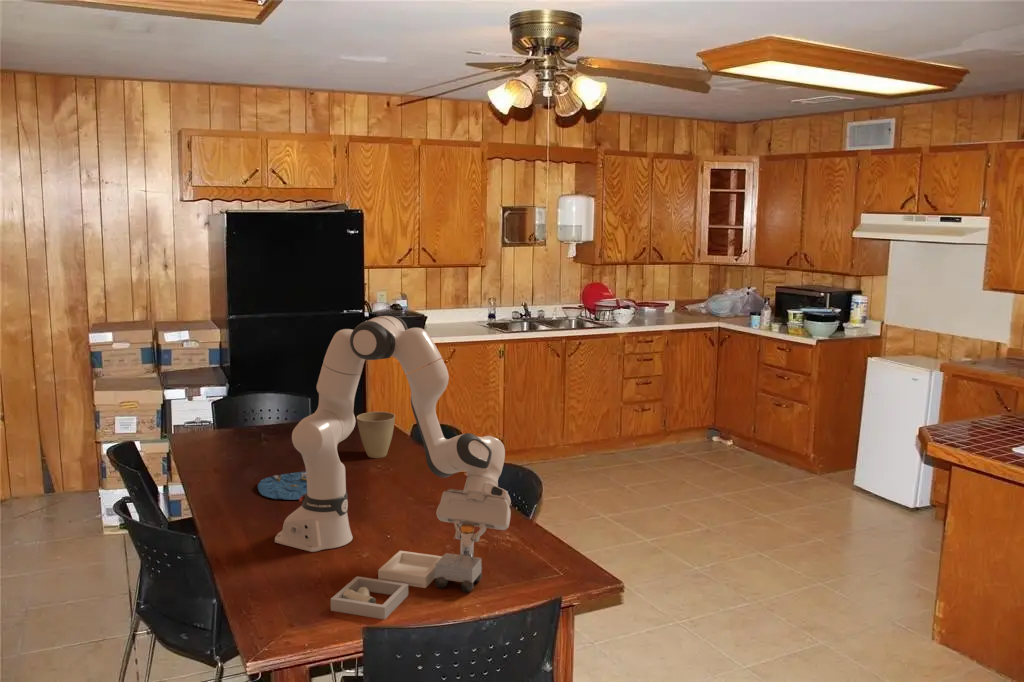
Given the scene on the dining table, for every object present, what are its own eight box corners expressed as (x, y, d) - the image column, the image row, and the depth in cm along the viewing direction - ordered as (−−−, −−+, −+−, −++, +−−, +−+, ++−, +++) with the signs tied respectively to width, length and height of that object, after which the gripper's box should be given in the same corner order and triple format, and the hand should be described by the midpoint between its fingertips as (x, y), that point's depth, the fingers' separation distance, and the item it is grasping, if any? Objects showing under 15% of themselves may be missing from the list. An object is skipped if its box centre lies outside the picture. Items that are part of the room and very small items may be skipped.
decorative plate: (354, 479, 308) (355, 465, 307) (329, 506, 278) (329, 491, 278) (276, 472, 310) (277, 459, 310) (243, 499, 281) (243, 484, 280)
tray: (378, 580, 220) (378, 570, 220) (400, 560, 233) (399, 550, 232) (425, 588, 216) (425, 577, 216) (445, 567, 229) (445, 556, 228)
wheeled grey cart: (435, 588, 216) (434, 564, 215) (455, 566, 230) (455, 543, 229) (471, 593, 213) (471, 569, 212) (489, 570, 227) (489, 548, 226)
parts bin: (330, 610, 204) (330, 598, 203) (357, 587, 216) (356, 576, 216) (384, 619, 199) (384, 607, 199) (408, 595, 212) (408, 584, 212)
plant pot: (355, 451, 336) (354, 413, 334) (392, 448, 341) (391, 410, 338) (360, 462, 322) (359, 422, 320) (398, 459, 327) (398, 419, 324)
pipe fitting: (360, 597, 212) (341, 605, 206) (361, 582, 212) (342, 590, 206) (384, 605, 208) (365, 614, 202) (385, 590, 207) (366, 598, 202)
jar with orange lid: (458, 559, 224) (458, 527, 222) (463, 554, 227) (463, 522, 226) (470, 561, 223) (471, 529, 221) (475, 556, 226) (475, 524, 225)
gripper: (441, 482, 232) (427, 529, 224) (512, 492, 226) (500, 540, 218) (447, 493, 237) (433, 538, 229) (516, 502, 231) (504, 549, 223)
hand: (466, 539), depth 223 cm, fingers closed on jar with orange lid, 3 cm apart
